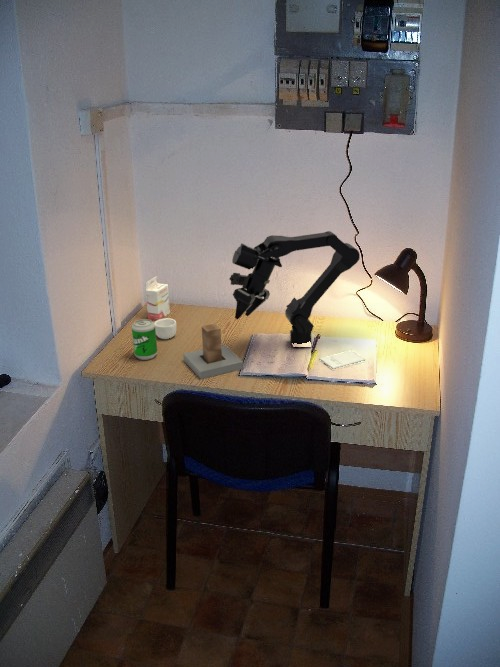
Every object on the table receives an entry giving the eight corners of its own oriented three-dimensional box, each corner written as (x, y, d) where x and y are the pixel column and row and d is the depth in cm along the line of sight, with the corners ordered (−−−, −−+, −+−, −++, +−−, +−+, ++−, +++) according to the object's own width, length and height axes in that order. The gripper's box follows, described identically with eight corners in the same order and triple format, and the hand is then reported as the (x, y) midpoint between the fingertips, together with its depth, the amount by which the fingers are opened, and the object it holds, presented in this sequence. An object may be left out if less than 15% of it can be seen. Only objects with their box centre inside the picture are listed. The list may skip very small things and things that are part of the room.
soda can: (148, 349, 221) (145, 316, 217) (162, 355, 217) (159, 322, 212) (130, 356, 217) (126, 322, 212) (143, 363, 212) (140, 329, 207)
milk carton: (159, 321, 243) (156, 283, 237) (147, 319, 245) (144, 282, 239) (170, 313, 250) (167, 276, 244) (159, 311, 252) (156, 275, 246)
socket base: (224, 351, 219) (224, 344, 218) (243, 368, 207) (243, 361, 206) (183, 360, 213) (183, 353, 212) (200, 379, 201) (200, 371, 200)
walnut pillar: (216, 360, 213) (214, 323, 207) (222, 366, 209) (220, 328, 204) (203, 363, 211) (201, 326, 205) (209, 369, 207) (207, 331, 202)
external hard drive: (365, 363, 210) (332, 372, 205) (350, 353, 216) (318, 361, 211) (365, 358, 209) (333, 367, 204) (350, 349, 216) (318, 357, 211)
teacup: (172, 342, 226) (171, 327, 224) (151, 340, 228) (150, 326, 226) (182, 330, 235) (181, 316, 233) (162, 329, 237) (161, 315, 235)
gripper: (250, 261, 220) (231, 303, 224) (229, 263, 202) (209, 308, 207) (278, 276, 217) (259, 318, 221) (259, 280, 200) (239, 325, 204)
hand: (241, 317), depth 213 cm, fingers open, 9 cm apart
